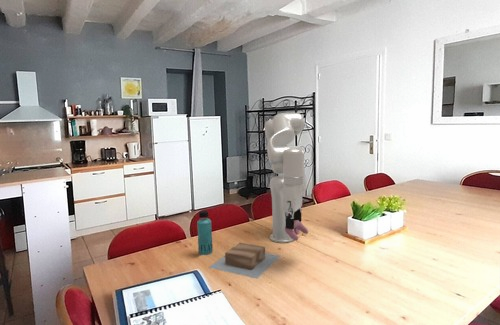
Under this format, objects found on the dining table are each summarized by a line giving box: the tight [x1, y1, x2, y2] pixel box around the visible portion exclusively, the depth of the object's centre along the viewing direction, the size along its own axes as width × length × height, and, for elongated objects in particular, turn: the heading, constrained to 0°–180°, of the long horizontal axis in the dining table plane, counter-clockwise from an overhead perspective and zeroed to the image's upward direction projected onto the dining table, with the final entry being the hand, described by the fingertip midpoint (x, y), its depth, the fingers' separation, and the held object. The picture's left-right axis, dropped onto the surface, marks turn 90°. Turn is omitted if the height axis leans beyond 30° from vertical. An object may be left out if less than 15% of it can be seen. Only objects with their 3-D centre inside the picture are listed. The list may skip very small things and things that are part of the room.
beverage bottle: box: [196, 210, 214, 256], centre depth 143 cm, size 6×7×20 cm
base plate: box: [208, 252, 282, 279], centre depth 133 cm, size 22×22×2 cm
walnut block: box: [224, 242, 266, 270], centre depth 133 cm, size 12×12×5 cm
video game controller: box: [285, 220, 309, 241], centre depth 126 cm, size 10×5×7 cm, turn 143°
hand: (293, 224), depth 126 cm, fingers closed on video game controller, 8 cm apart
